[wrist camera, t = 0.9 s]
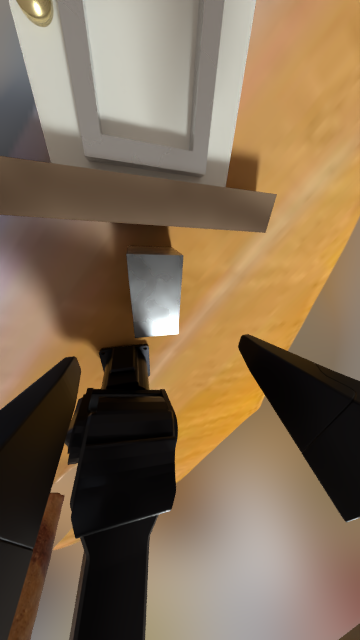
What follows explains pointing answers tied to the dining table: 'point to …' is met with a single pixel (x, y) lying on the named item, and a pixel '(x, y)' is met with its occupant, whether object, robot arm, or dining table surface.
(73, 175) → the brown wooden bar
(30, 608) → the wafer roll
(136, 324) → the block
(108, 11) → the mini door model
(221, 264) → the dining table surface
